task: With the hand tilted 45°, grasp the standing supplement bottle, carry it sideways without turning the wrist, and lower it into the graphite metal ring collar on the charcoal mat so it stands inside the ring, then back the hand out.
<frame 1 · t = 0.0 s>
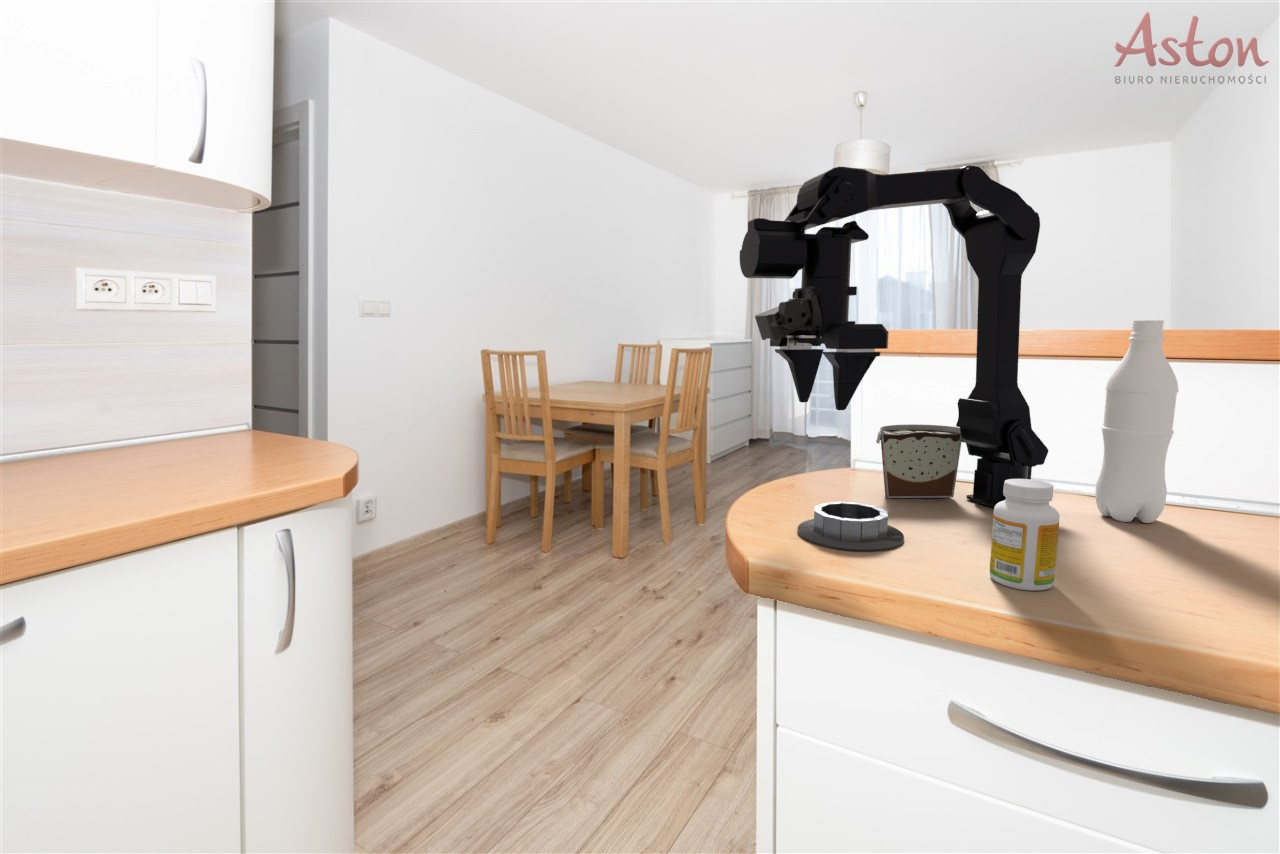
hand: (821, 405, 81), 15 cm above the worktop, tool pointing down, fingers open, 9 cm apart
food container: (912, 494, 95), on the worktop, touching arm
water bottle: (1127, 519, 82), on the worktop
supplement bottle: (1020, 583, 62), on the worktop
ring collar: (849, 534, 76), on the worktop
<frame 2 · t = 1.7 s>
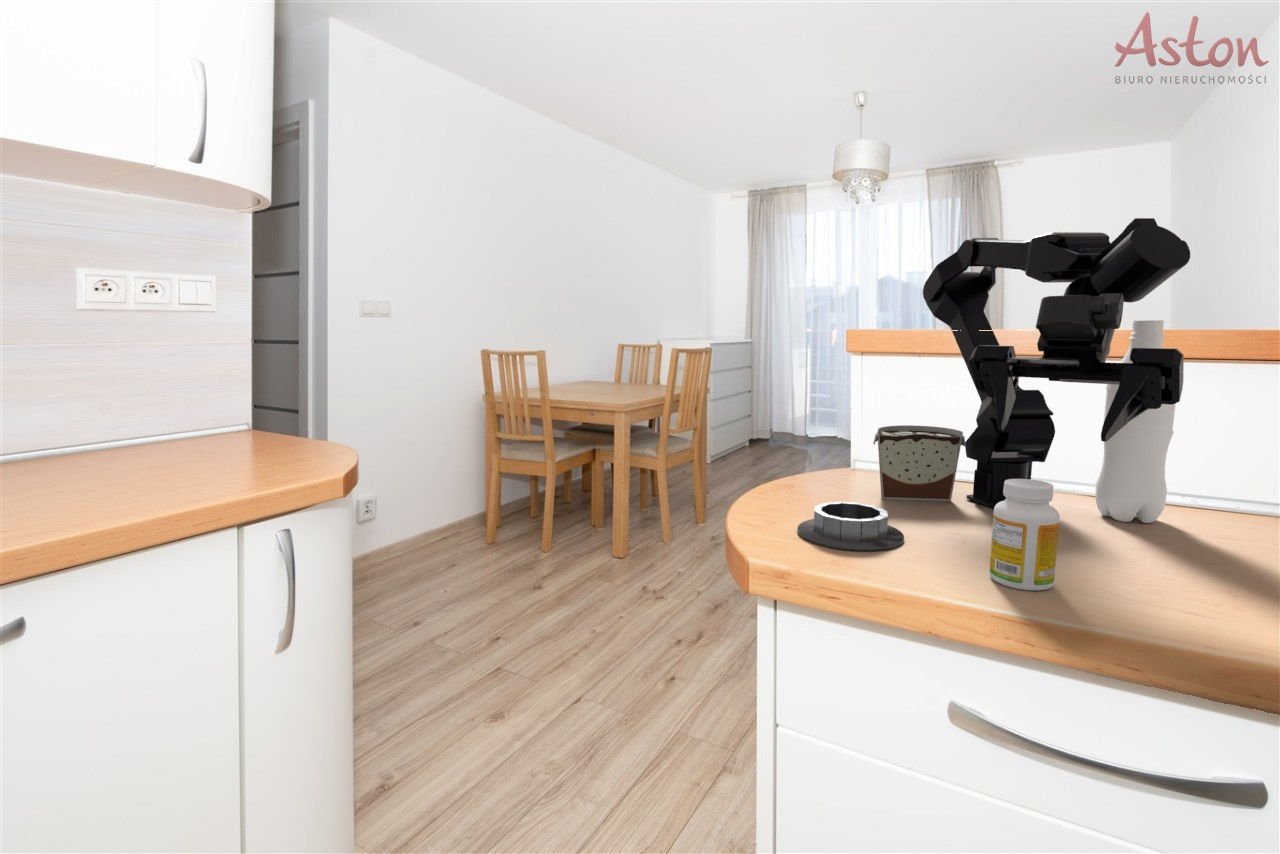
hand: (1049, 433, 66), 13 cm above the worktop, tool tilted 45°, fingers open, 9 cm apart
food container: (910, 495, 95), on the worktop
everything else where it was.
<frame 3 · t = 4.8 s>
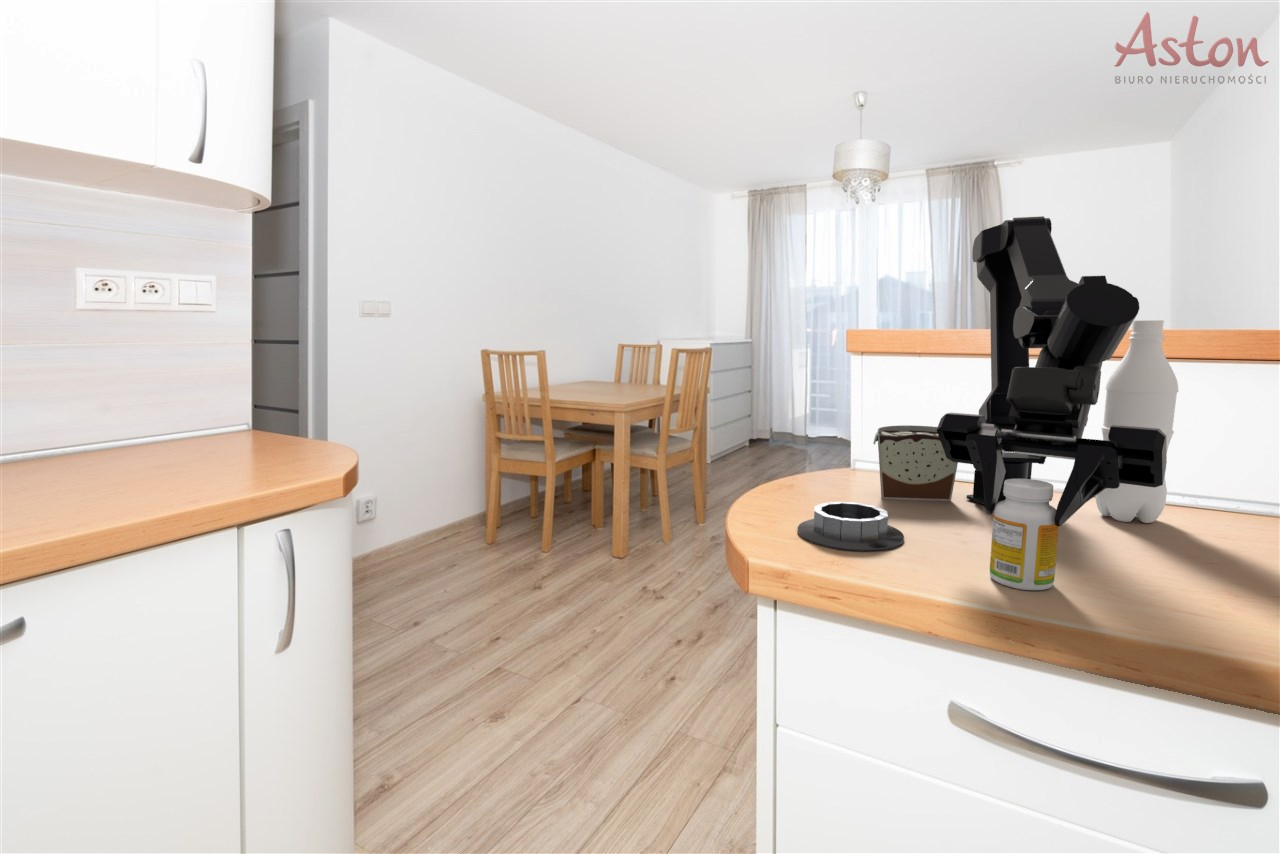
hand: (1021, 517, 60), 7 cm above the worktop, tool tilted 45°, fingers closed on supplement bottle, 5 cm apart
supplement bottle: (1020, 582, 62), on the worktop, touching gripper
everything else where it was.
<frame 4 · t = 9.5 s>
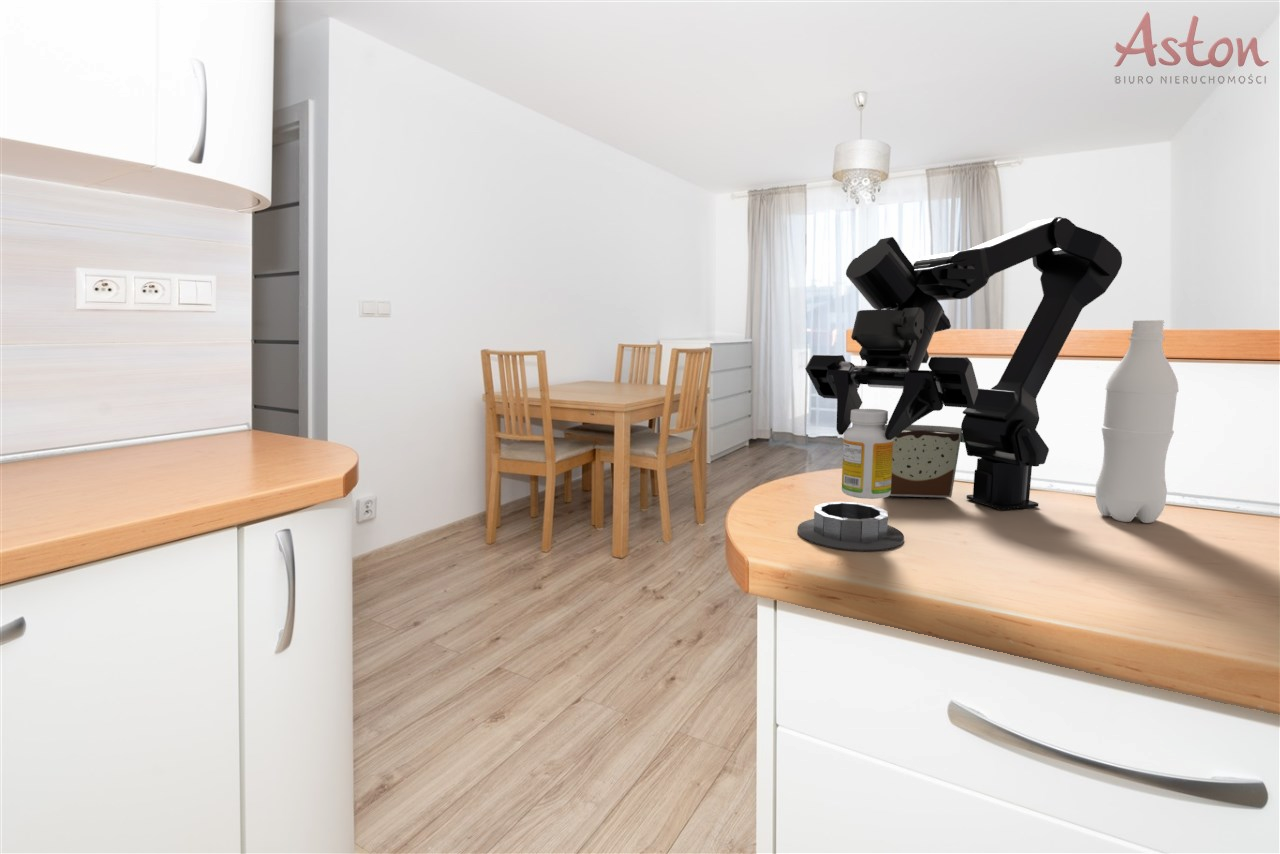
hand: (862, 435, 72), 12 cm above the worktop, tool tilted 45°, fingers closed on supplement bottle, 5 cm apart
food container: (910, 494, 95), on the worktop, touching arm
supplement bottle: (865, 495, 74), point 5 cm above the worktop, touching gripper
everything else where it was.
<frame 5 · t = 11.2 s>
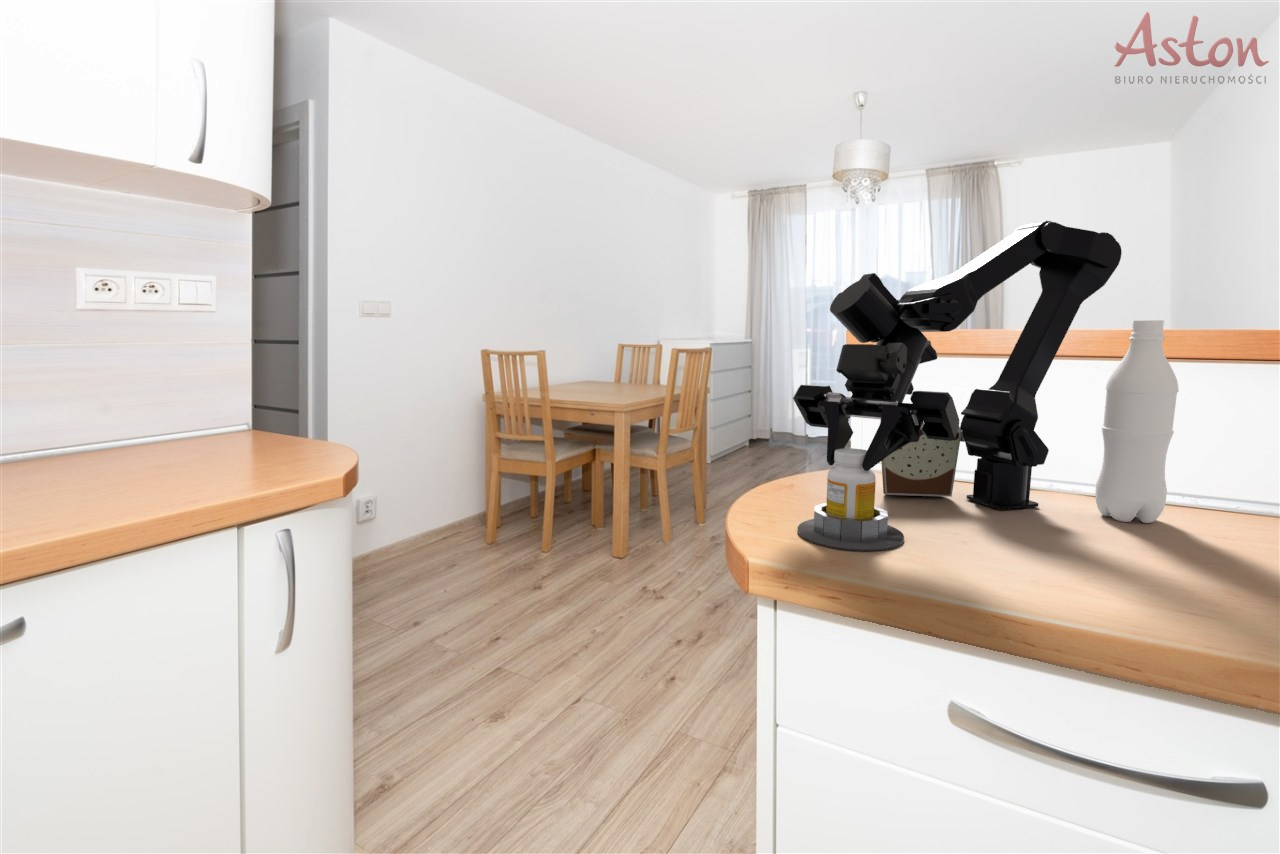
hand: (846, 465, 74), 9 cm above the worktop, tool tilted 45°, fingers closed on supplement bottle, 4 cm apart
supplement bottle: (848, 533, 76), resting on ring collar, touching gripper
everything else where it was.
when the fingers open (9 cm above the worktop, at t = 11.3 s): supplement bottle stays where it is, resting on ring collar.
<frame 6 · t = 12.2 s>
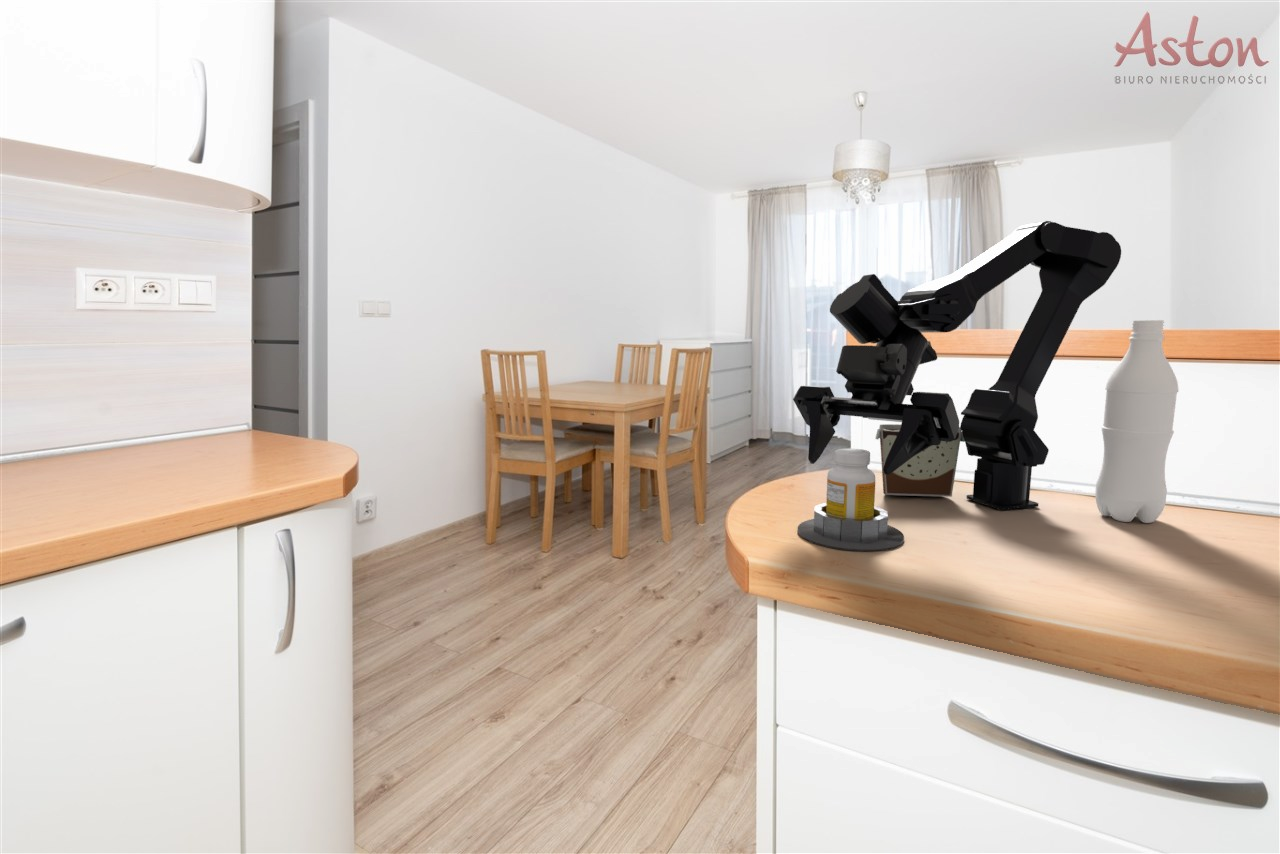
hand: (846, 467, 74), 8 cm above the worktop, tool tilted 45°, fingers open, 9 cm apart
supplement bottle: (848, 533, 76), resting on ring collar
everything else where it was.
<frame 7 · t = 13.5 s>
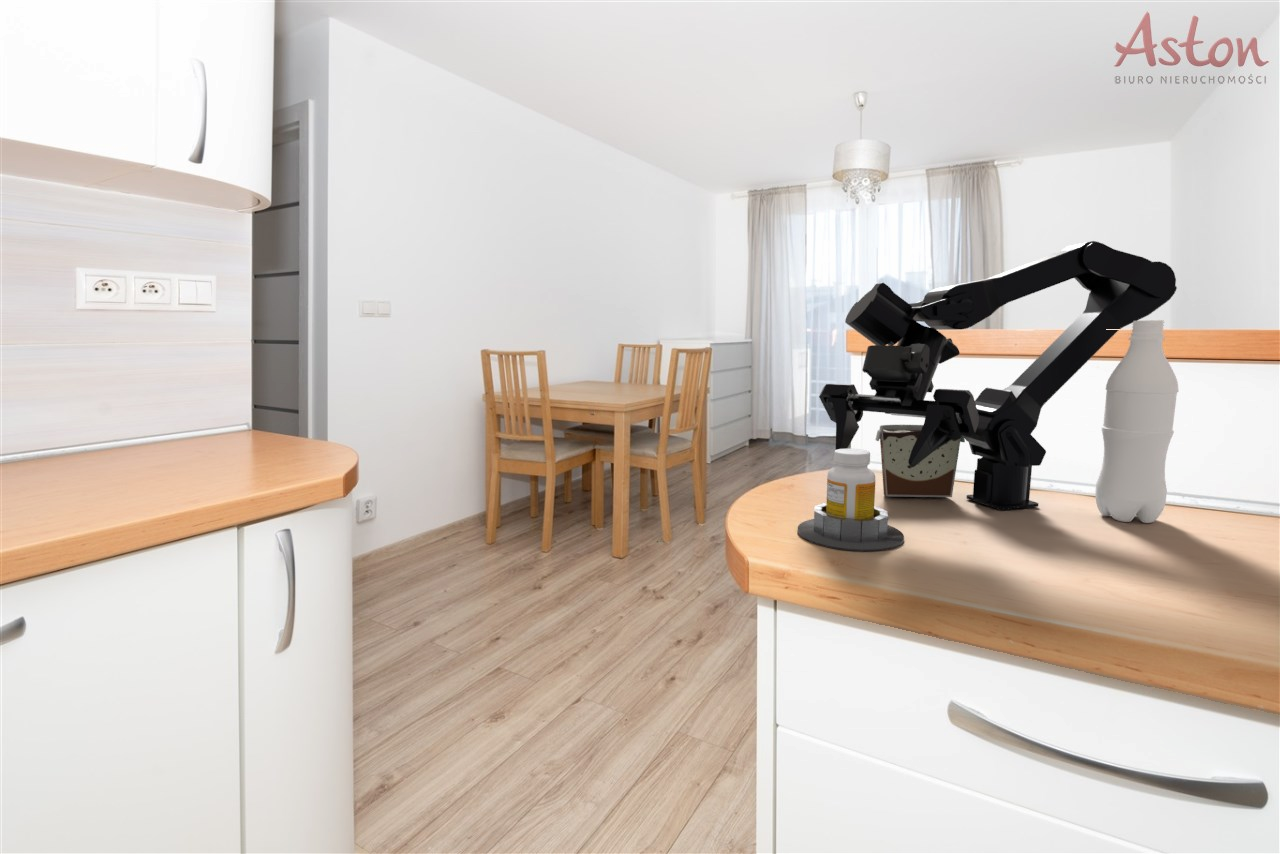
hand: (872, 460, 79), 8 cm above the worktop, tool tilted 45°, fingers open, 9 cm apart
nothing on the worktop moved.
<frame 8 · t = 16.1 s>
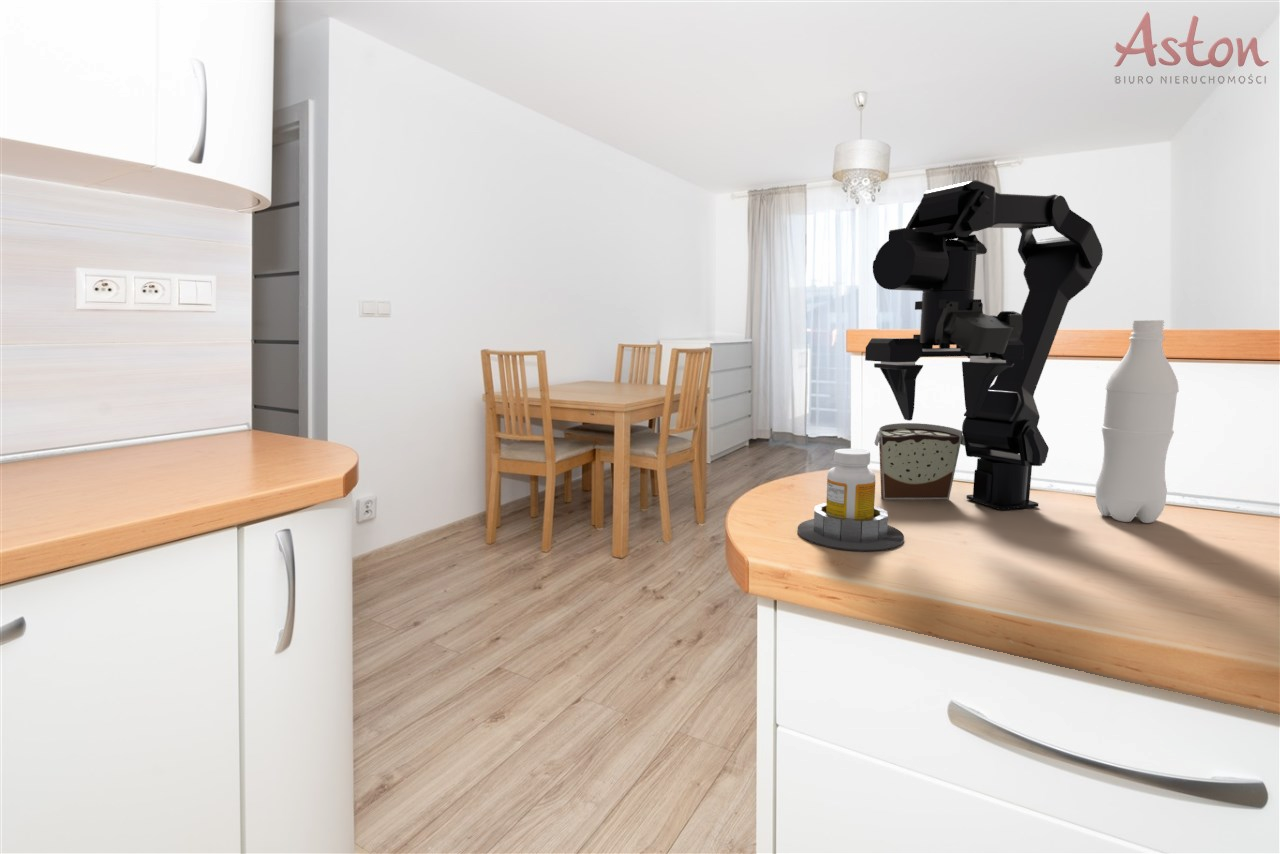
hand: (940, 418, 81), 13 cm above the worktop, tool pointing down, fingers open, 9 cm apart
at the end: supplement bottle 0.1 cm off-centre on the ring collar, point 0.2 cm above the ring collar's base; supplement bottle tilted 0°; the gripper is holding nothing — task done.
